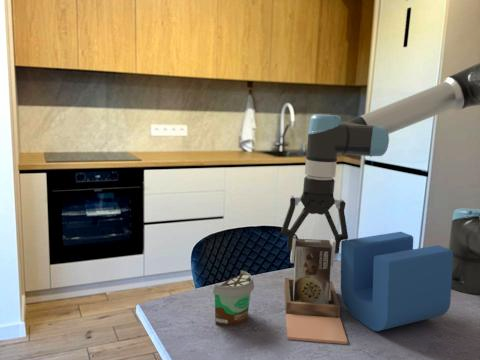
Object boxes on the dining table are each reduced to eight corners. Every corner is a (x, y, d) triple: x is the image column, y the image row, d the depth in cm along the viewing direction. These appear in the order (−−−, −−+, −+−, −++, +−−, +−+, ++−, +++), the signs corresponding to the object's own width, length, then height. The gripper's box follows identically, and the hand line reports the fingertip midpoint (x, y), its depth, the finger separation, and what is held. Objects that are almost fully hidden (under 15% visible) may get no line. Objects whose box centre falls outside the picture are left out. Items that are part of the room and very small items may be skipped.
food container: (234, 334, 101) (236, 292, 100) (211, 326, 104) (213, 285, 103) (261, 314, 112) (264, 275, 110) (240, 307, 115) (242, 269, 113)
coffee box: (326, 297, 122) (330, 239, 120) (328, 308, 116) (332, 247, 113) (292, 295, 123) (295, 237, 120) (292, 306, 117) (295, 245, 114)
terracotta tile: (340, 320, 110) (340, 318, 110) (347, 344, 100) (347, 341, 100) (285, 316, 111) (286, 313, 111) (287, 339, 100) (287, 336, 100)
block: (340, 307, 118) (341, 239, 115) (397, 295, 124) (399, 231, 121) (386, 340, 101) (389, 262, 98) (449, 324, 108) (453, 250, 105)
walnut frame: (331, 291, 127) (332, 281, 127) (339, 318, 111) (340, 306, 111) (284, 287, 128) (284, 277, 127) (285, 314, 112) (286, 302, 112)
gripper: (361, 177, 117) (352, 261, 121) (275, 171, 118) (268, 254, 122) (367, 183, 110) (357, 272, 114) (275, 176, 111) (268, 264, 115)
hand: (311, 262), depth 118 cm, fingers closed on coffee box, 9 cm apart
